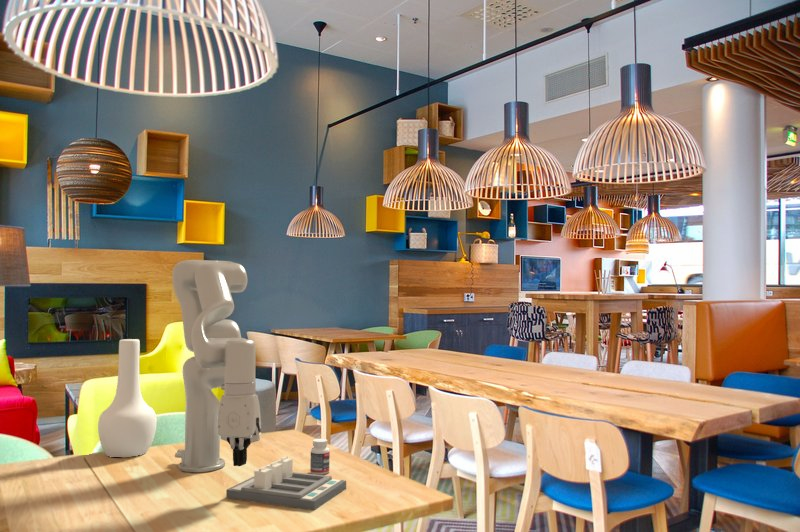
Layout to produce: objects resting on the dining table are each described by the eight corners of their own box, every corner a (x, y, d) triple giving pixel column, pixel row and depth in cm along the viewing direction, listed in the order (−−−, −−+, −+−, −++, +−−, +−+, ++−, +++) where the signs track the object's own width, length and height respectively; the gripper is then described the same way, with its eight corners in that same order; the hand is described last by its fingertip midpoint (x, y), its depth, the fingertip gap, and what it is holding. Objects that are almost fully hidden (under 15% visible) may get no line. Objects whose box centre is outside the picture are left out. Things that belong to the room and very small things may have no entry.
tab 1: (254, 489, 153) (254, 468, 153) (260, 486, 155) (261, 465, 156) (264, 491, 152) (265, 469, 152) (271, 487, 154) (271, 466, 155)
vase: (144, 444, 206) (146, 337, 208) (164, 454, 194) (166, 339, 196) (89, 453, 195) (92, 339, 197) (107, 464, 183) (110, 342, 184)
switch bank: (226, 498, 153) (226, 486, 153) (264, 478, 169) (264, 468, 169) (314, 510, 145) (314, 497, 145) (346, 488, 160) (346, 477, 161)
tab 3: (276, 478, 162) (276, 458, 162) (282, 475, 165) (282, 455, 165) (286, 479, 161) (286, 459, 161) (292, 476, 164) (292, 456, 164)
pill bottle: (325, 475, 172) (326, 442, 172) (307, 474, 173) (307, 441, 173) (331, 470, 177) (332, 438, 177) (314, 469, 178) (314, 437, 178)
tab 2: (265, 483, 157) (265, 463, 157) (271, 480, 160) (272, 460, 160) (275, 485, 156) (276, 464, 156) (282, 481, 159) (282, 461, 159)
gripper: (205, 390, 156) (204, 466, 155) (257, 392, 151) (257, 471, 149) (223, 387, 163) (223, 459, 162) (274, 388, 158) (274, 463, 156)
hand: (239, 464), depth 155 cm, fingers closed
